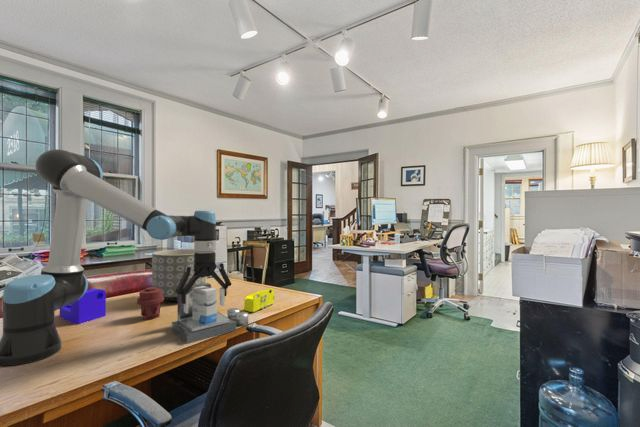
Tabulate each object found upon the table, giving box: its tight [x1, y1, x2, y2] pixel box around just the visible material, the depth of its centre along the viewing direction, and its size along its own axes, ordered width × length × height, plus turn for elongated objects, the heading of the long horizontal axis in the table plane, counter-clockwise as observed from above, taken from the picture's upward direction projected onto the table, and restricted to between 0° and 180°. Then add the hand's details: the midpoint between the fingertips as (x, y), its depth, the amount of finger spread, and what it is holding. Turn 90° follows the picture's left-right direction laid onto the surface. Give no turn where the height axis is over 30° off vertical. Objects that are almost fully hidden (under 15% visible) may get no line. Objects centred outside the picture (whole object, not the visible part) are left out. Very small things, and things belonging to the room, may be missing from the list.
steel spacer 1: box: [226, 307, 241, 321], centre depth 129 cm, size 5×5×4 cm
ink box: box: [193, 286, 218, 323], centre depth 116 cm, size 8×5×12 cm, turn 55°
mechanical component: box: [136, 286, 165, 321], centre depth 130 cm, size 12×10×10 cm
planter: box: [151, 248, 206, 302], centre depth 160 cm, size 25×25×24 cm
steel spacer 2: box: [235, 311, 249, 327], centre depth 124 cm, size 5×5×4 cm
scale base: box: [171, 282, 237, 344], centre depth 117 cm, size 18×19×15 cm
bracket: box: [59, 288, 107, 325], centre depth 130 cm, size 18×11×12 cm, turn 72°
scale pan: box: [179, 312, 230, 332], centre depth 116 cm, size 14×13×1 cm
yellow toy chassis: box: [244, 287, 275, 313], centre depth 145 cm, size 16×6×8 cm, turn 154°
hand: (204, 308), depth 116 cm, fingers open, 13 cm apart
